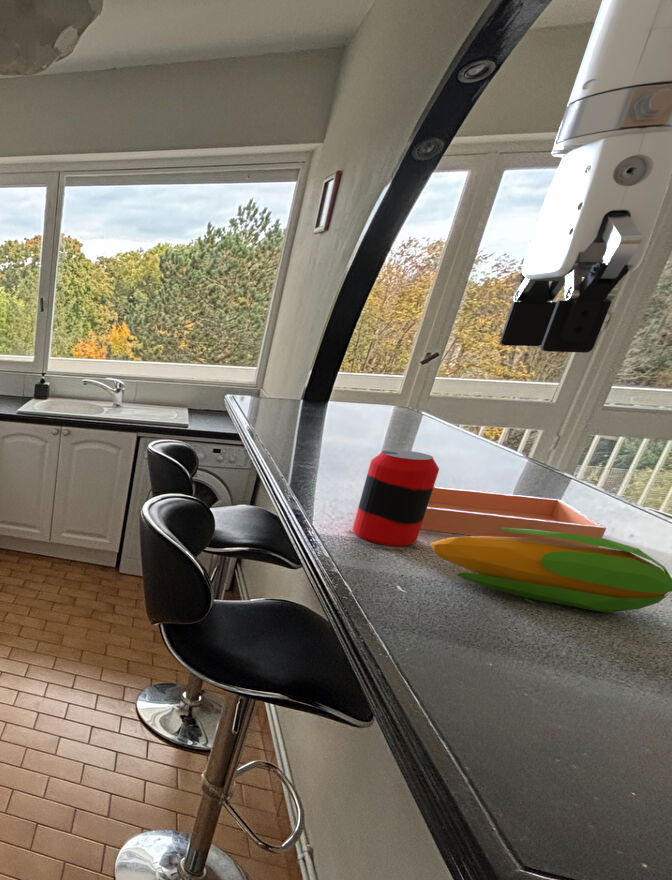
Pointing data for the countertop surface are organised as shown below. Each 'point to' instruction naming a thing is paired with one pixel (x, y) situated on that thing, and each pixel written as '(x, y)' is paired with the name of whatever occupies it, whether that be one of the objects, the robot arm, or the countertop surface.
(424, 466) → the soda can
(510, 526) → the pan
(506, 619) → the countertop surface
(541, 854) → the countertop surface
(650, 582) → the corn
